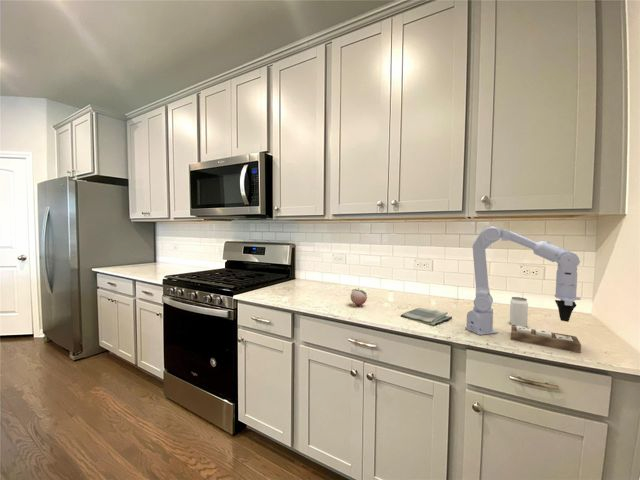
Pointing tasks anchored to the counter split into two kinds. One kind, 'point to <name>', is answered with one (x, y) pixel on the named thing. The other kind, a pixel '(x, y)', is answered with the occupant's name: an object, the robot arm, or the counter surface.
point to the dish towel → (427, 316)
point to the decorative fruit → (358, 297)
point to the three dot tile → (523, 329)
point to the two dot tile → (563, 337)
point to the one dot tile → (543, 333)
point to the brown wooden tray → (547, 340)
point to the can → (518, 311)
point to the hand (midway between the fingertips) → (564, 320)
